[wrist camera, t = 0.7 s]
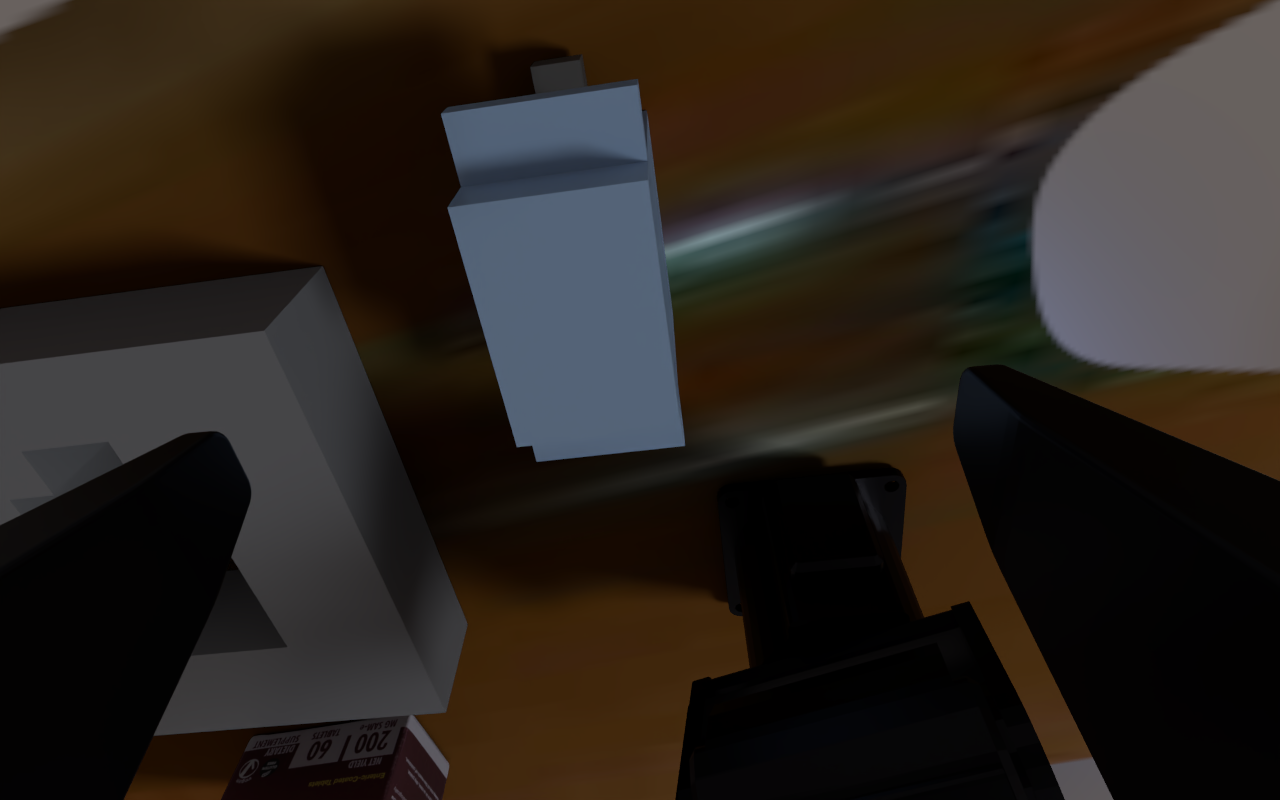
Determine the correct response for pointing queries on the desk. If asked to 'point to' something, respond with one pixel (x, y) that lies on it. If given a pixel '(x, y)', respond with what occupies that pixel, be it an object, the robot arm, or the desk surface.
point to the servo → (569, 263)
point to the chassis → (280, 488)
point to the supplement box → (342, 763)
